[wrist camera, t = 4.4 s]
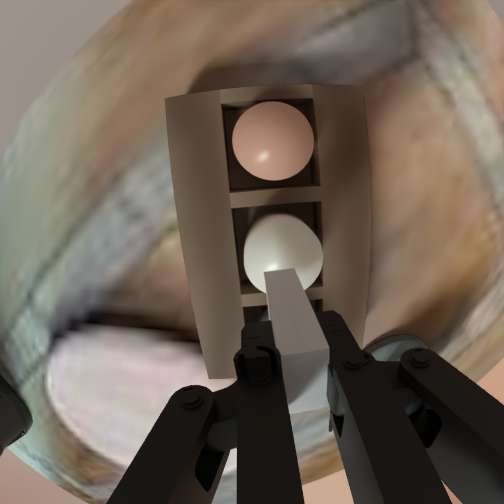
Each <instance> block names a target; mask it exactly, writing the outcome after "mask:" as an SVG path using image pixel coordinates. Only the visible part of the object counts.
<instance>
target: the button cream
mask: <svg viewBox="0 0 504 504" xmlns="http://www.w3.org/2000/svg"><path fill="white" fill-rule="evenodd" d="M322 264H323V250H322V246H321V244H320V241H319V240H318V238H317V236H316V235H315V234H314V233H313V232H312V230H311V229H310V228H309V227H308V226H307V225H306V224H305V223H304V222H303V221H302V220H301V219H300V218H299V217H297V216H295V215H294V214H291V213H288V212H282V211H275V212H270V213H267V214H264V215H262V216H261V217H259V218H258V219H257V220H255V221H254V222H253V223H252V225H251V226H250V227H249V229H248V231H247V233H246V236H245V242H244V267H245V271H246V274H247V276H248V278H249V279H250V281H251V282H252V283H253V285H254V286H255V287H257V288H258V289H259V290H261V291H262V292H264V293H266V287H265V279H264V272H267V271H275V270H282V269H290V268H294V269H295V271H296V273H297V275H298V278H299V280H300V282H301V284H302V286H303V289H304V290H305V289H307V288H308V287H309V286H310V285H311V284H312V283H313V282H314V281H315V280H316V278H317V277H318V275H319V273H320V271H321V268H322Z"/></svg>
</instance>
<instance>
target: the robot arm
mask: <svg viewBox="0 0 504 504" xmlns="http://www.w3.org/2000/svg"><path fill="white" fill-rule="evenodd" d="M264 279H265V287H266V296H267V304H268V313H269V320H267V321H259V322H251V323H246V324H245V326H244V327H243V329H242V330H241V349H240V350H239V351H238V352H237V353H236V354H235V356H234V358H233V361H234V366H235V371H236V375H237V380H236V381H235V382H234V383H233V384H232V385H230V386H229V387H227V388H224V389H221V390H218V391H215V392H212V391H211V390H210V389H208V388H207V387H204V386H201V385H190V386H186V387H183V388H181V389H179V390H178V391H176V392H175V393H174V394H173V395H172V396H171V398H170V399H169V401H168V403H167V404H166V406H165V408H164V409H163V411H162V413H161V414H160V416H159V418H158V419H157V421H156V423H155V424H154V426H153V428H152V429H151V431H150V433H149V434H148V436H147V438H146V439H145V441H144V442H143V444H142V446H141V447H140V449H139V451H138V452H137V454H136V456H135V457H134V459H133V461H132V462H131V464H130V466H129V467H128V469H127V470H126V472H125V474H124V475H123V477H122V479H121V480H120V482H119V484H118V485H117V487H116V489H115V490H114V492H113V493H112V495H111V497H110V498H109V500H108V502H107V503H106V504H211V503H212V501H213V498H214V495H215V492H216V490H217V487H218V484H219V481H220V479H221V476H222V473H223V470H224V467H225V465H226V462H227V459H228V456H229V453H230V449H234V448H237V504H305V503H304V497H303V491H302V485H301V479H300V473H299V467H298V461H297V455H296V449H295V443H294V437H293V431H292V426H291V420H290V414H294V413H300V412H306V411H312V410H317V409H323V408H327V399H328V402H329V405H330V420H329V432H330V431H332V427H333V431H334V434H335V437H336V441H337V444H338V448H339V451H340V455H341V458H342V462H343V465H344V469H345V472H346V476H347V479H348V483H349V486H350V490H351V494H352V497H353V501H354V504H452V502H451V500H450V498H449V496H448V494H447V491H446V489H445V487H444V485H443V483H442V481H443V482H444V484H445V485H446V486H447V487H448V488H449V489H450V490H451V491H452V493H454V495H455V496H456V497H457V498H458V499H459V500H460V501H461V502H462V503H463V504H504V405H503V404H502V403H500V402H499V401H498V400H497V399H495V398H494V397H493V396H491V395H490V394H489V393H487V392H486V391H485V390H484V389H482V388H481V387H480V386H479V385H477V384H476V383H475V382H473V381H472V380H471V379H469V378H468V377H467V376H465V375H464V374H463V373H462V372H460V371H459V370H458V369H456V368H455V367H454V366H452V365H451V364H450V363H448V362H447V361H446V360H444V359H443V358H442V357H440V356H439V355H438V354H436V353H435V352H433V351H431V350H429V349H426V348H421V347H419V348H412V349H409V350H407V351H405V352H404V353H403V354H402V356H401V358H400V361H378V360H376V359H375V358H374V357H373V356H372V354H371V353H369V352H367V351H364V350H361V349H360V347H359V345H358V343H357V342H356V340H355V338H354V336H353V335H352V333H351V331H350V330H349V328H348V326H347V324H345V321H344V319H343V318H342V316H341V315H340V314H338V313H337V312H335V311H334V310H329V311H323V312H317V313H314V311H313V309H312V306H311V304H310V302H309V300H308V298H307V295H306V293H305V291H304V289H303V286H302V284H301V282H300V280H299V278H298V275H297V273H296V271H295V269H294V268H290V269H282V270H275V271H267V272H264ZM31 426H32V419H31V416H30V414H29V412H28V410H27V408H26V407H25V405H24V404H23V402H22V401H21V400H20V398H19V397H18V396H17V394H16V393H15V392H14V391H13V390H12V388H11V387H10V386H9V385H8V384H7V383H6V382H5V381H4V380H3V379H2V378H1V377H0V456H1V454H2V453H3V451H4V449H5V448H6V447H8V446H9V445H11V444H12V443H14V442H15V441H17V440H18V439H19V438H21V437H22V436H24V435H25V434H26V433H27V432H28V431H29V429H30V427H31ZM441 480H442V481H441Z"/></svg>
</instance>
